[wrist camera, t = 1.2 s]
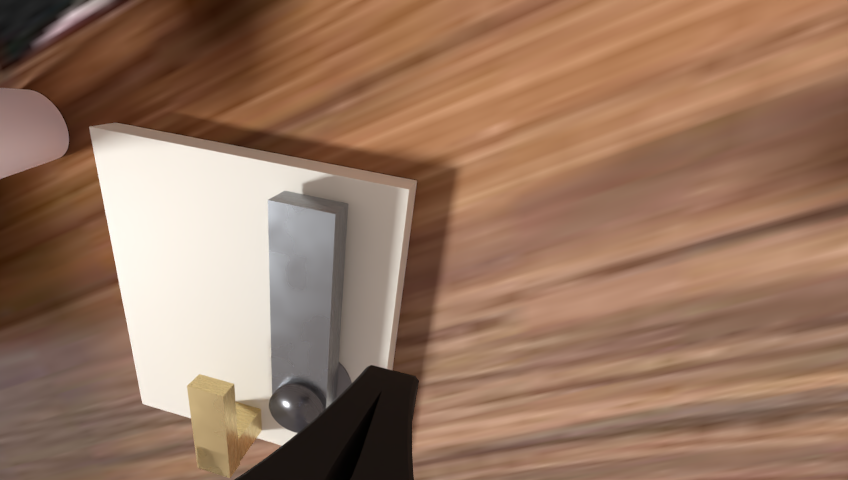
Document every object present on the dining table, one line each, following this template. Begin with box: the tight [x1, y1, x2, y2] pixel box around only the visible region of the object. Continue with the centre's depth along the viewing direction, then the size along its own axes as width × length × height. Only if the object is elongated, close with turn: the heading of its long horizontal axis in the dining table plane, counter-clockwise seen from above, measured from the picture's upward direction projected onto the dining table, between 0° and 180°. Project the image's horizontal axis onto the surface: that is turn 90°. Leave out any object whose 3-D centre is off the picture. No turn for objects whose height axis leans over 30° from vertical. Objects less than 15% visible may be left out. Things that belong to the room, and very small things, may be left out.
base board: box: [89, 123, 417, 446], centre depth 24 cm, size 18×16×2 cm
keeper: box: [187, 374, 262, 478], centre depth 24 cm, size 6×2×3 cm, turn 173°
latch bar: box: [268, 191, 348, 433], centre depth 20 cm, size 12×3×2 cm, turn 173°
